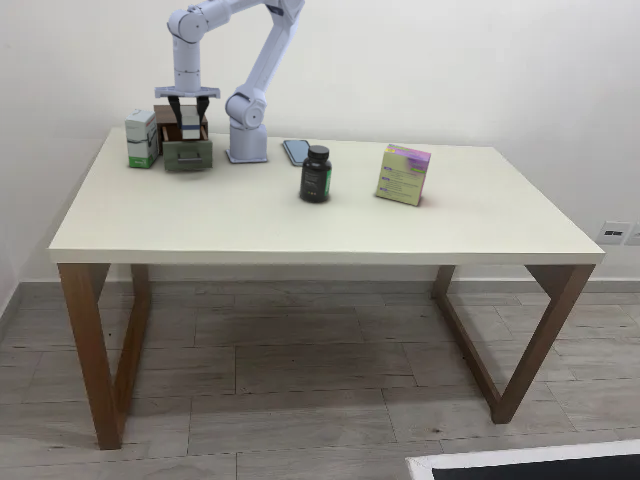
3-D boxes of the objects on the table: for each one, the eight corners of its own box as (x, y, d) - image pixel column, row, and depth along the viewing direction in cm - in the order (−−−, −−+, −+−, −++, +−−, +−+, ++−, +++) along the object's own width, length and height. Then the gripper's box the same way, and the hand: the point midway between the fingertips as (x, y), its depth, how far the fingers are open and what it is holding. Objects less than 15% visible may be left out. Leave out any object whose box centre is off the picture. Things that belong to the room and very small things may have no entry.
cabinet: (208, 153, 132) (207, 122, 127) (159, 155, 128) (156, 122, 123) (201, 134, 142) (200, 104, 138) (155, 135, 138) (153, 104, 134)
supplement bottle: (333, 200, 117) (339, 153, 110) (307, 205, 113) (312, 156, 107) (319, 187, 121) (324, 141, 115) (294, 192, 118) (298, 144, 112)
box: (421, 196, 123) (431, 152, 117) (417, 206, 118) (428, 161, 112) (380, 186, 125) (388, 142, 119) (375, 196, 121) (383, 151, 114)
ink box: (149, 169, 121) (144, 122, 114) (128, 167, 120) (123, 119, 114) (159, 154, 128) (156, 109, 122) (140, 152, 128) (135, 107, 121)
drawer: (215, 175, 119) (214, 149, 116) (165, 178, 116) (163, 151, 112) (205, 148, 132) (204, 123, 129) (160, 149, 129) (159, 124, 125)
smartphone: (294, 163, 130) (282, 140, 142) (294, 166, 130) (282, 143, 142) (321, 162, 132) (307, 139, 144) (320, 166, 133) (306, 142, 144)
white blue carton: (195, 127, 122) (195, 105, 119) (199, 138, 117) (199, 115, 114) (179, 127, 121) (178, 105, 118) (182, 138, 115) (181, 116, 112)
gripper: (154, 73, 105) (158, 134, 113) (222, 74, 110) (222, 133, 117) (152, 64, 111) (156, 123, 118) (217, 66, 116) (217, 122, 123)
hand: (189, 127), depth 118 cm, fingers closed on white blue carton, 4 cm apart
